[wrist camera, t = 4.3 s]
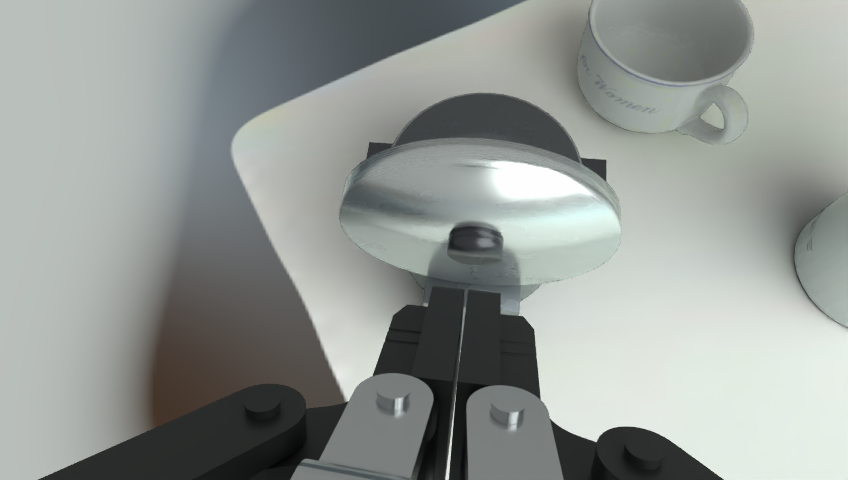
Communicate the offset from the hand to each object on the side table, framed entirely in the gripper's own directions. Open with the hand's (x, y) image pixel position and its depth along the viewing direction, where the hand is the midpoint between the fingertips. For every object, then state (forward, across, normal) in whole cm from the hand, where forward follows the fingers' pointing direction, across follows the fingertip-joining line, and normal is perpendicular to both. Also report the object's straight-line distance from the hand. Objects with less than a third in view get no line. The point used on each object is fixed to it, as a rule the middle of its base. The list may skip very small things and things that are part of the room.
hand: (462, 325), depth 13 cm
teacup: (+37, -12, +1) cm, 39 cm away
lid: (+14, 0, +2) cm, 14 cm away
